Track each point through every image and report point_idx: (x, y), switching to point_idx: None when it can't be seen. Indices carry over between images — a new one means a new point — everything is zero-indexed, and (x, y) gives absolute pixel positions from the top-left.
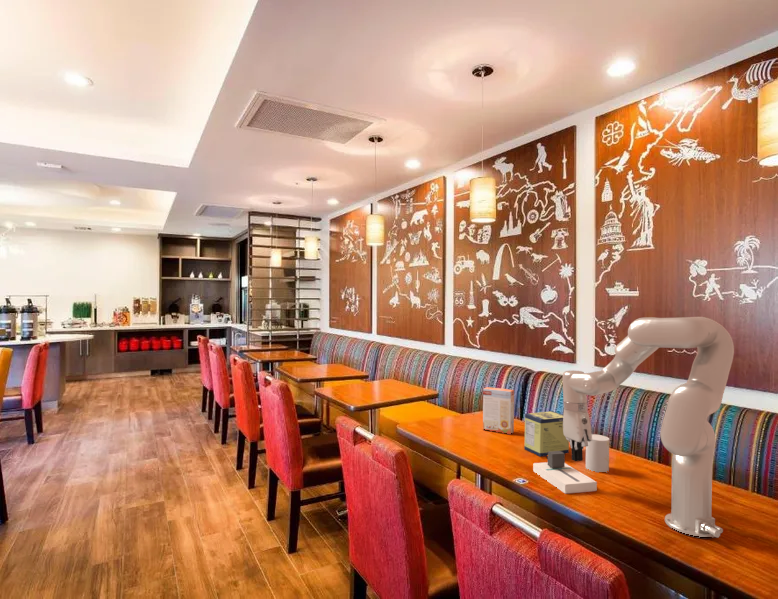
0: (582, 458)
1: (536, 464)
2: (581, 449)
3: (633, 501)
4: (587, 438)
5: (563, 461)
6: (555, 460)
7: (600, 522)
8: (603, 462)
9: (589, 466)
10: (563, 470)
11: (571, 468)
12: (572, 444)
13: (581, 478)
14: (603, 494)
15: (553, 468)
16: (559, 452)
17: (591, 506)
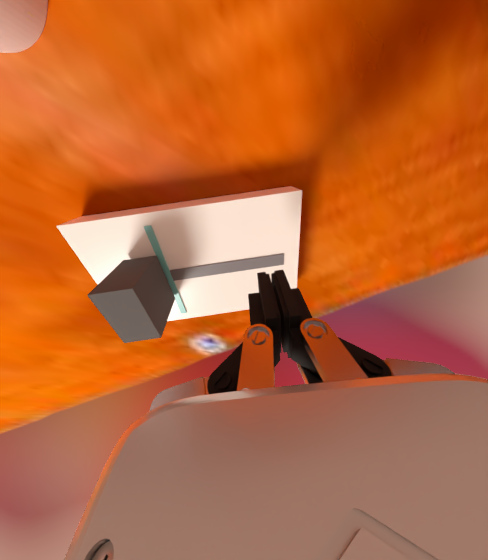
0: (285, 275)
1: None
2: (317, 327)
3: (416, 73)
4: (466, 425)
5: (150, 271)
6: (163, 306)
7: (428, 276)
8: None
9: (5, 36)
10: (181, 264)
11: (151, 223)
12: (274, 381)
13: (260, 235)
14: (321, 177)
15: None
16: (121, 305)
17: (367, 259)
